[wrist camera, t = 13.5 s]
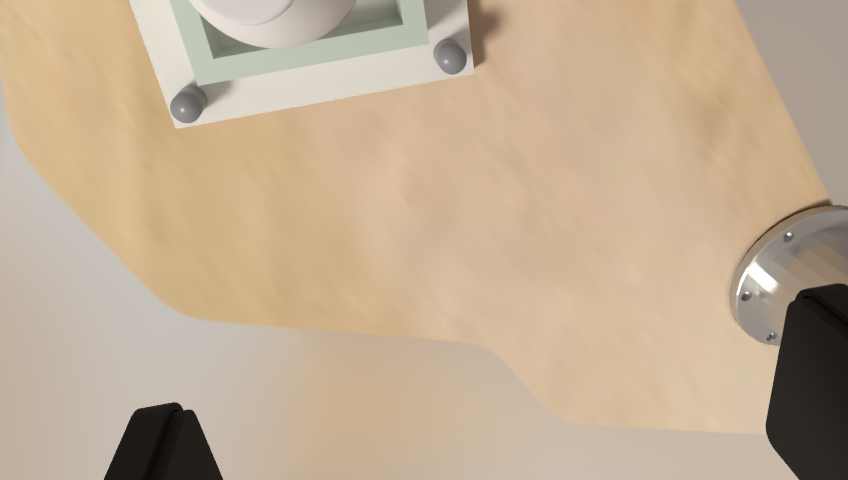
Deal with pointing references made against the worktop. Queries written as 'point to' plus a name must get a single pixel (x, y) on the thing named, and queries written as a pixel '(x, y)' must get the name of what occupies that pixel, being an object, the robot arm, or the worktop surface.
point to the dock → (300, 58)
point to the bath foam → (274, 19)
